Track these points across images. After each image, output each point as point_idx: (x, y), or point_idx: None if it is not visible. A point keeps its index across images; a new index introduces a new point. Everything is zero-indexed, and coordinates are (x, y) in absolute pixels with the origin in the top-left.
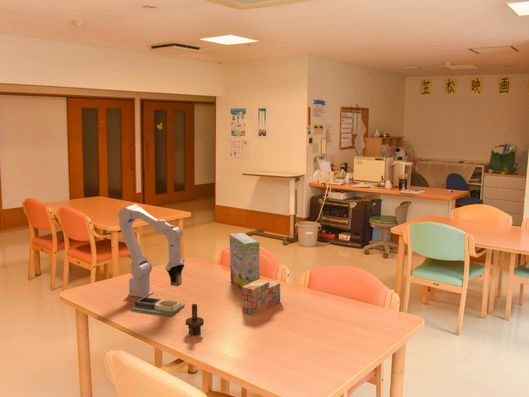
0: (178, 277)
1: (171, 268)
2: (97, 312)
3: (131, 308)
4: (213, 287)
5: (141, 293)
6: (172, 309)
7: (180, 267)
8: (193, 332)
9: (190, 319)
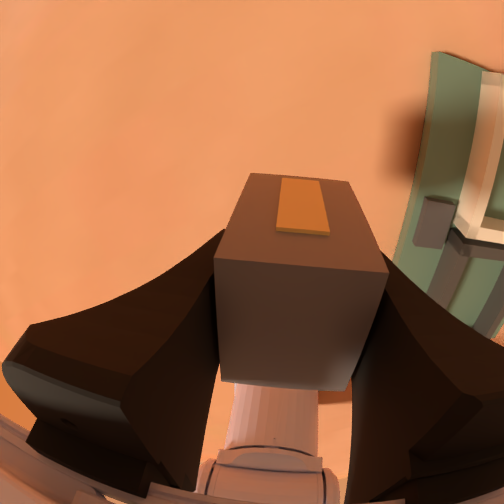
0: (352, 238)
1: (501, 473)
2: None
3: (495, 335)
4: (13, 56)
5: None
6: None
7: (164, 389)
8: None
9: None
